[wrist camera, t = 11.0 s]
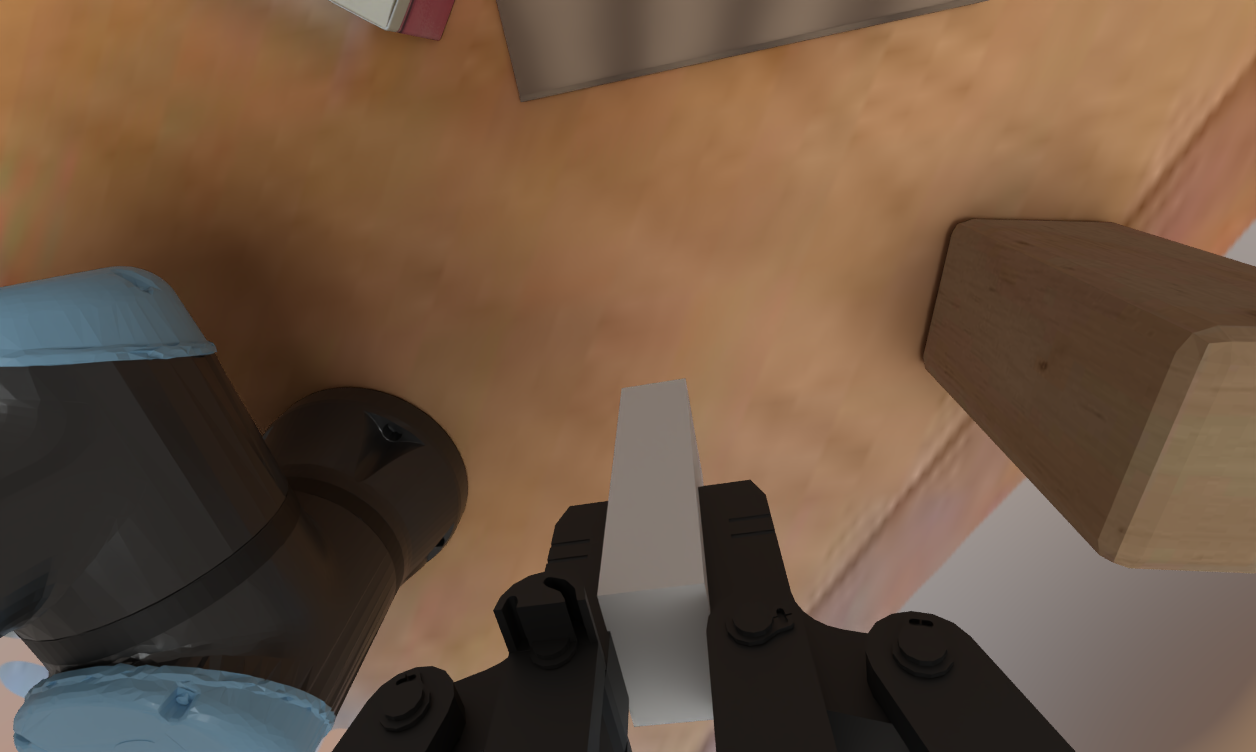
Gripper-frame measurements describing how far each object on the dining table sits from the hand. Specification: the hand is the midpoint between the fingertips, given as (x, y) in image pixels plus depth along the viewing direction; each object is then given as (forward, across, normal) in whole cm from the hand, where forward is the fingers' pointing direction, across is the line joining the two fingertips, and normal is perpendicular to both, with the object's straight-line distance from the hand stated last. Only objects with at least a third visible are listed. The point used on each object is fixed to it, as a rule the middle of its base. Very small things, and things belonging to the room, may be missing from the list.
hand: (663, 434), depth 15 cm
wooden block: (+27, +21, -9) cm, 35 cm away
